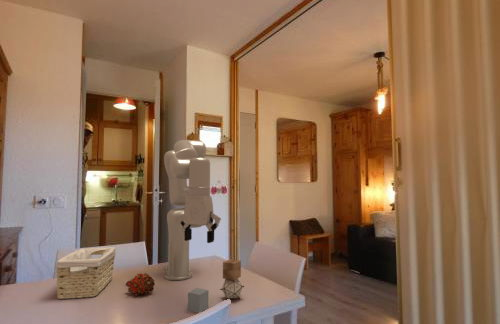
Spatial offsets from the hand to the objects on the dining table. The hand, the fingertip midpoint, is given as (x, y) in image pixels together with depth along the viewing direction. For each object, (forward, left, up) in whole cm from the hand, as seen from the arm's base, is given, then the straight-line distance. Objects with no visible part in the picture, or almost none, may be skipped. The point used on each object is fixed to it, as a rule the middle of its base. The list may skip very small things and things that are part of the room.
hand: (199, 241), depth 103 cm
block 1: (0, 0, -23) cm, 23 cm away
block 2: (+6, +13, -15) cm, 21 cm away
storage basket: (-53, -4, -24) cm, 59 cm away
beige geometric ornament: (+6, +13, -23) cm, 27 cm away
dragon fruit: (-29, +1, -23) cm, 37 cm away
